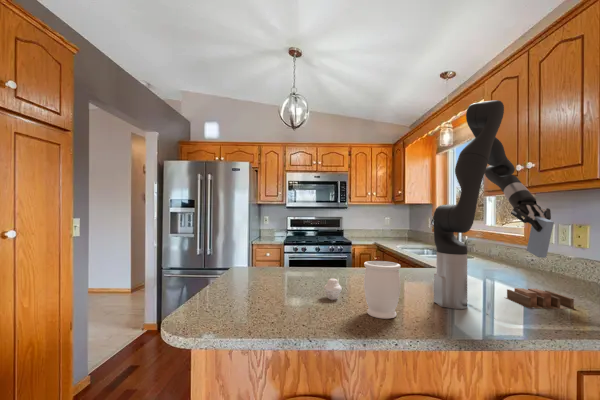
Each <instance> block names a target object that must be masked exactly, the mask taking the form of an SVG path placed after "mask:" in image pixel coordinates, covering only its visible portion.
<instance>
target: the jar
mask: <svg viewBox="0 0 600 400" xmlns="http://www.w3.org/2000/svg"><path fill="white" fill-rule="evenodd" d="M363 264H364V267H365V270H364V274H363V275H364V277H363V287H364V288H363V289H364V296H365V301H366V304H367V307H368V309H367V310H366V313H367V314H368V316H370V317H373V318H377V319H385V320H388V319H393V318H396V317H397V314H398V313H397V312H396V309H397V306H398V304H399V299H400V293H401V285H402V284H401V276H400V275H401V274H400V271H399V270H400V269H401V264H399V263H397V262H393V261H385V260H368V261H365V262H364V263H363Z"/></svg>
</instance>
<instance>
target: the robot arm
mask: <svg viewBox="0 0 600 400" xmlns="http://www.w3.org/2000/svg"><path fill="white" fill-rule="evenodd" d="M504 114H505V106H504V103H503V102H502V101H501V100H497V99H496V100H486V101H479V102H474V103H471V104H470V105H468V107H467V109H466V112H465V118H466V123H467V125H468V128H469V129H470V132H471V133H472V134H473V136H474V139H473V140H471V141H470V142H469V143H468V144H467V145H465V147H464V148H462V150H461V151H460V153H459V155H458V158H457V159H456V160H457V161H456V164H455V168H454V173H455V177H456V181H457V182H458V184H459V187H460V195H459V196H460V197H459V200H458V203H457V204H441V205H438V206H437V207H436V208H435V210H434V213H433V224H432V225H433V237H434V245H435V248H436V249H435V250H436V265H435V266H436V273H433V302H434V303H435V304H437V305H438V306H440V307H441V308H449V309H456V310H463V309H467V308H468V246H467V245H466V244H465V243H463V242H462V241H460V240H458V239H457V238H456V237H455V234H454V233H457V234H458V233H459V234H464V233H468V232H469V231H470V230H471V228H472V226H473V225H474V220H475V217H476V211H477V210H476V209H477V204H478V199H479V195H480V190H481V187H482V183H483V181H484V180H483V179H484V176H485V177H486V178H487V180H489V181H490V182H491V183H493V184H494V185H496V186H497V187H498V188H499V189H500V190H501V192H502V193H503V194H504V197H505V198H506V200H507V202H509V204H510V205H511V207H512V211H510V214H511V215H512V216H514V218H516V219H518V220H519V221H521V222H522V223H523V224H529V225H531V226H533V228H534V229H535V230H536V231H537V232H540V231H541V230H542V227H541V225H540V224H539V223H538V221H537V220H536V218H535V217H543V218H545V219H548V220H551V219H552V215H551V213H552V212H551V209H550V208H546V209H544V208H542V207H541V206H540V205H538V203H537V199H536V198H535V197H534V195H533V194H532V193H531V191H530V190H529V189H528V188H527V187H526V186H525V185H524V184H523V183H522V181H520V179H519V178H518V176H516V175H514V173H515V170H516V169H515V168H516V167H515V165H514V164H513V163H512V162H511V160H510V159H509V158H508V157H507V155H506V151H505V148H504V144H503V142H502V141H501V140H499V138H498V137H496V136H497V134H498V131H499V129H500V127H501V124H502V121H503V118H504Z"/></svg>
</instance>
